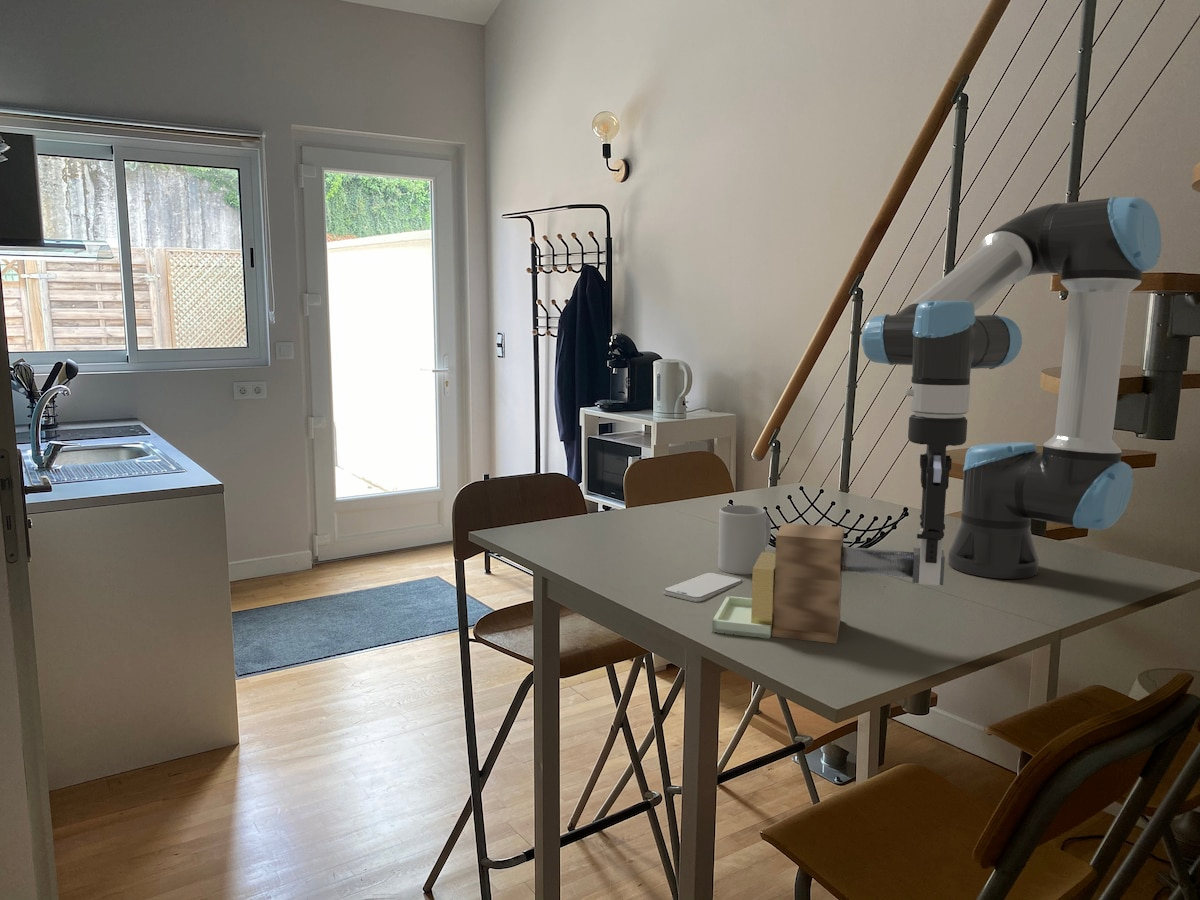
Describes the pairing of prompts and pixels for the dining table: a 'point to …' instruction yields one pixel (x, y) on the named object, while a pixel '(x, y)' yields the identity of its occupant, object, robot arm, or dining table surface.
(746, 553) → the mug
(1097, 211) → the robot arm
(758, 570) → the yellow square block
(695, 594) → the smartphone
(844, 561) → the steel shaft
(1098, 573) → the dining table surface
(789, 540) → the walnut housing
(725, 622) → the green tray
